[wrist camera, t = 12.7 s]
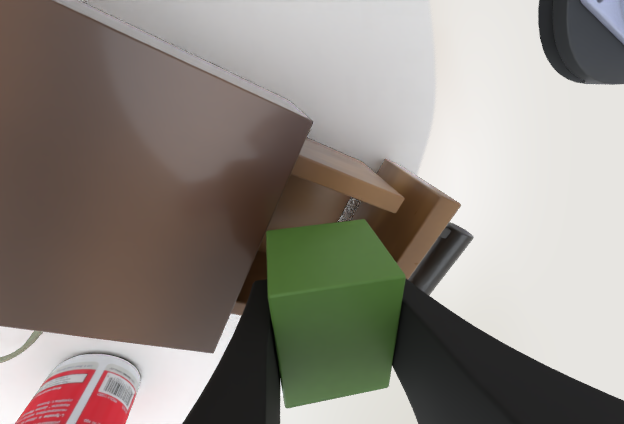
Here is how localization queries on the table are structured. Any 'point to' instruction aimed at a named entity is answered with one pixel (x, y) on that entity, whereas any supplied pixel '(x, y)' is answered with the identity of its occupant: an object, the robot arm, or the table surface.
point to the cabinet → (129, 179)
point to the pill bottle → (85, 392)
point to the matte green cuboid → (332, 309)
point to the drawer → (369, 213)
